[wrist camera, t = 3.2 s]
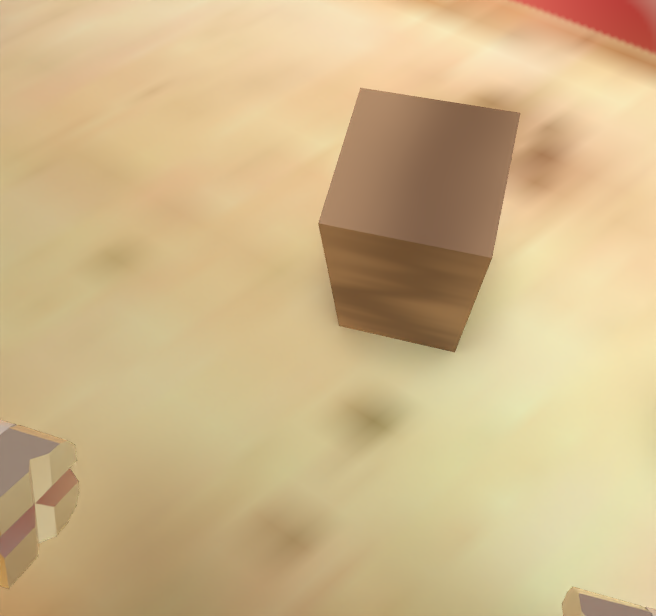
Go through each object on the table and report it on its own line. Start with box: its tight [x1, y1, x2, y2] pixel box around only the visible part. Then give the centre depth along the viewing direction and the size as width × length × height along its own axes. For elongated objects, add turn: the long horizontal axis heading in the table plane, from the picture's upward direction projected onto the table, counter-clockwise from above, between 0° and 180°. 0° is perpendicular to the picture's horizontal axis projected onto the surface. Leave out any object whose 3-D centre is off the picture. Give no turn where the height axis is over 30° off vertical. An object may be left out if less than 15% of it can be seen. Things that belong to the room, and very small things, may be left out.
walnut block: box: [318, 88, 520, 352], centre depth 22 cm, size 5×5×9 cm
